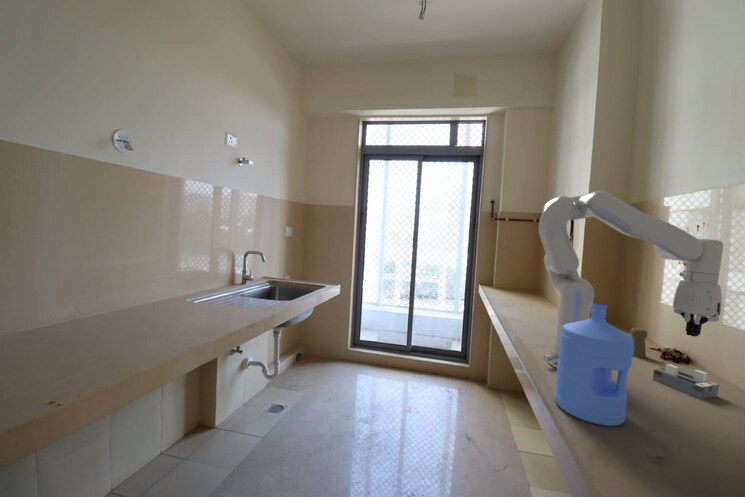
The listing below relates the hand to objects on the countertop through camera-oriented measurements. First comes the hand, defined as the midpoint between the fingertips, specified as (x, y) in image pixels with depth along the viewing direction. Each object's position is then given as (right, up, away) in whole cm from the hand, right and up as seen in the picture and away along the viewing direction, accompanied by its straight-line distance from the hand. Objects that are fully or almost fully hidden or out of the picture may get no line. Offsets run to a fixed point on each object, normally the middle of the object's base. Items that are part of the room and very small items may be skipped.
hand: (692, 335), depth 102 cm
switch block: (-3, -17, 0) cm, 17 cm away
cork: (+5, -16, +28) cm, 32 cm away
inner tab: (-5, -14, +2) cm, 15 cm away
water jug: (-45, -15, -17) cm, 51 cm away
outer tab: (0, -15, -2) cm, 15 cm away
